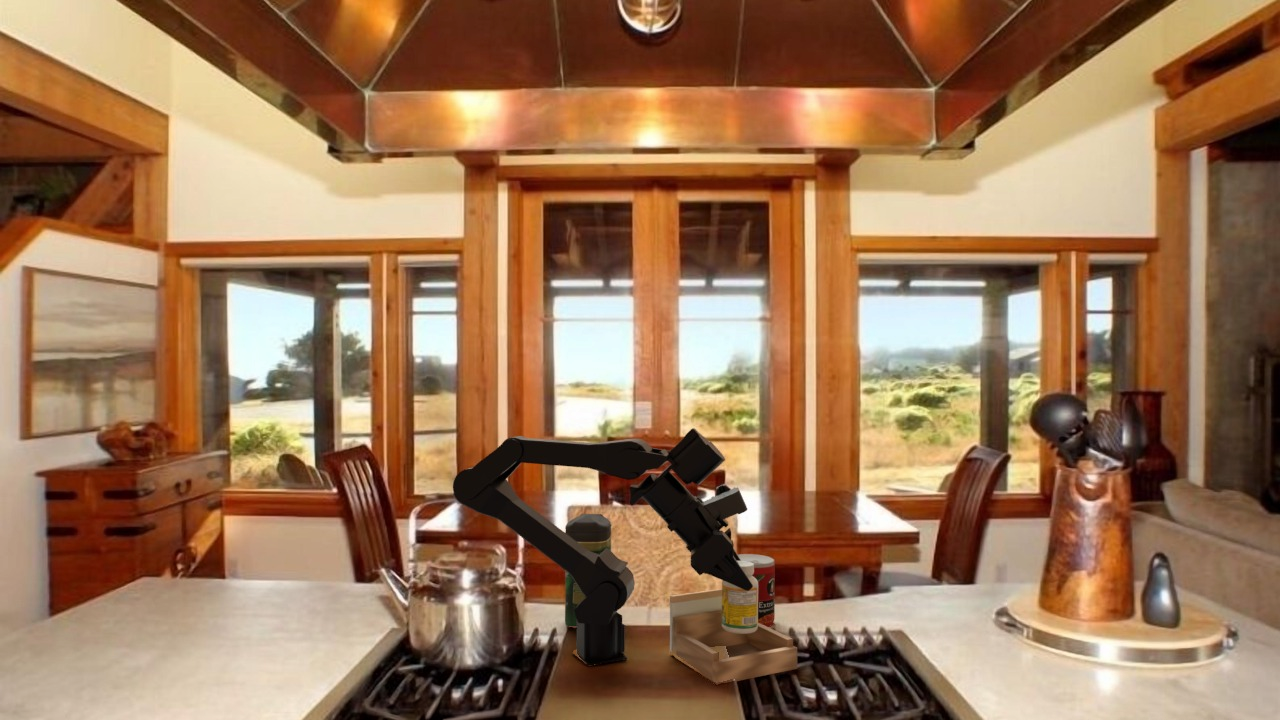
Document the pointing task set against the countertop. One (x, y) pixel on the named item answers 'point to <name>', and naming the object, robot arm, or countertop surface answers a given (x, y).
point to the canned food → (764, 586)
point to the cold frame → (731, 648)
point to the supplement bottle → (740, 604)
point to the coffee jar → (593, 537)
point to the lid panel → (693, 605)
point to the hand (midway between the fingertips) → (749, 583)
